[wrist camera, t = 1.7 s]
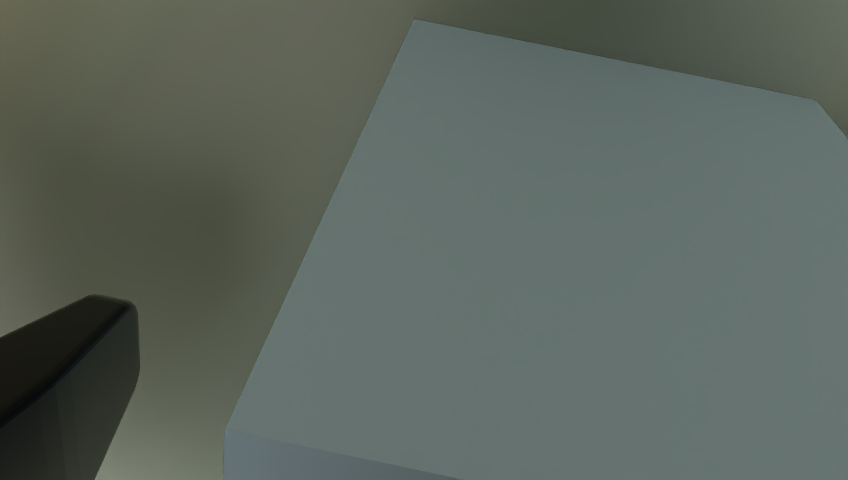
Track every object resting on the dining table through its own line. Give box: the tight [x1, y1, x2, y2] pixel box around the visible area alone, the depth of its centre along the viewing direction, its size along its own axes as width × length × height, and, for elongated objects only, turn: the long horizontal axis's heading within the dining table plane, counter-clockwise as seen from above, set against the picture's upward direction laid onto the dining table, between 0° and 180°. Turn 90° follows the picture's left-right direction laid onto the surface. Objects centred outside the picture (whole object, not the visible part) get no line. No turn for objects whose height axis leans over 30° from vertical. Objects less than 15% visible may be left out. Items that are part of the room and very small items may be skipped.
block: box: [223, 19, 848, 480], centre depth 8 cm, size 5×5×7 cm
